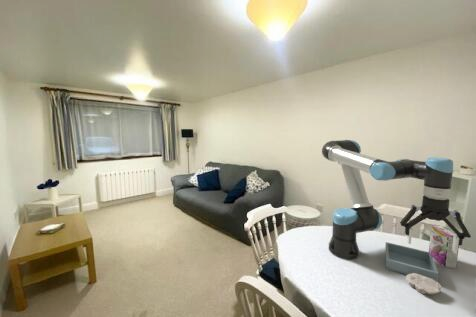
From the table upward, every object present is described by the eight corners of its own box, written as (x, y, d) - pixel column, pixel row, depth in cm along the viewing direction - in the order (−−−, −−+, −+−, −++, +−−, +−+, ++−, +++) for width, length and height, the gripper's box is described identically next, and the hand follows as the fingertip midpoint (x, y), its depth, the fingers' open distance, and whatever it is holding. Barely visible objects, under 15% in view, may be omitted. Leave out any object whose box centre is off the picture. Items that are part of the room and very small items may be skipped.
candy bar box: (427, 253, 106) (430, 225, 104) (438, 254, 105) (441, 225, 103) (444, 267, 95) (448, 235, 93) (457, 268, 94) (460, 236, 92)
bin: (385, 268, 96) (386, 259, 95) (385, 250, 110) (385, 242, 110) (437, 284, 85) (438, 273, 85) (429, 261, 100) (430, 252, 99)
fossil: (434, 296, 76) (406, 272, 84) (425, 304, 80) (399, 280, 87) (446, 287, 79) (419, 264, 87) (437, 295, 82) (412, 273, 90)
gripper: (396, 195, 82) (393, 242, 85) (488, 205, 68) (480, 261, 71) (394, 190, 88) (391, 235, 91) (478, 199, 75) (471, 251, 77)
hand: (430, 246), depth 81 cm, fingers open, 13 cm apart
